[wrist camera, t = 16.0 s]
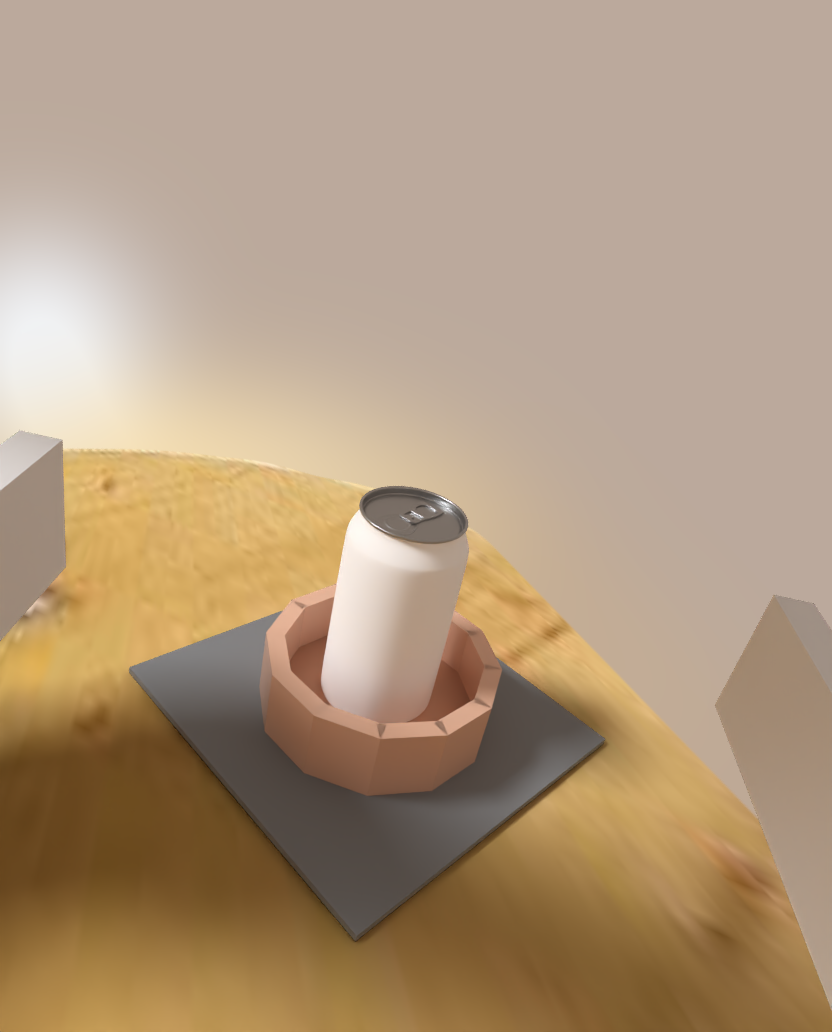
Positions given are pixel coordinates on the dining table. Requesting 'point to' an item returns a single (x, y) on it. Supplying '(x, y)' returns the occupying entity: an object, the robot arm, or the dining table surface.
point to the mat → (345, 813)
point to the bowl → (360, 741)
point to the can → (394, 603)
